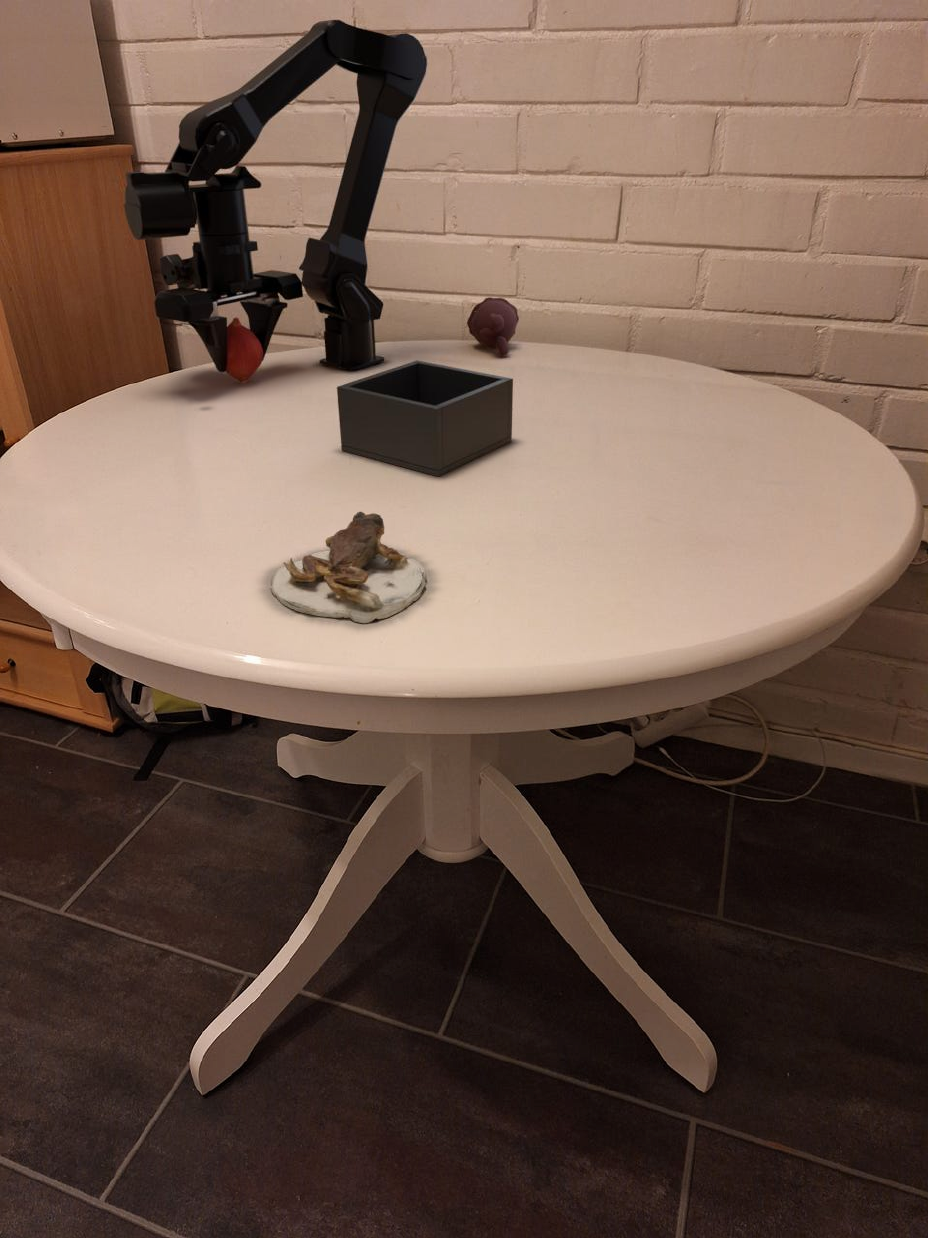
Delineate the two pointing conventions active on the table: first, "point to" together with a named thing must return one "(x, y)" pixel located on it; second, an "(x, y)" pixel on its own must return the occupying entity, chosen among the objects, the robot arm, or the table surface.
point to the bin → (425, 416)
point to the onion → (242, 352)
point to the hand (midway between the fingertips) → (241, 366)
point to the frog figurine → (351, 576)
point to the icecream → (494, 323)
